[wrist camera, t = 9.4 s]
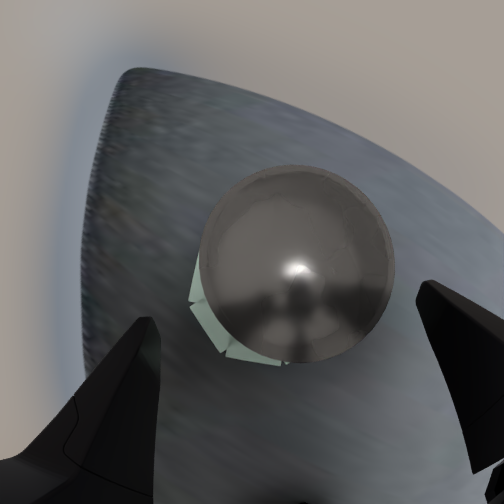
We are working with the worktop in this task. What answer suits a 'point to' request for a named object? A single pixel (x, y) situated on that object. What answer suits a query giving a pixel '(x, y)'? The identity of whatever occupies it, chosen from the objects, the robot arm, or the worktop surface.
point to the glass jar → (296, 263)
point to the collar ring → (220, 327)
